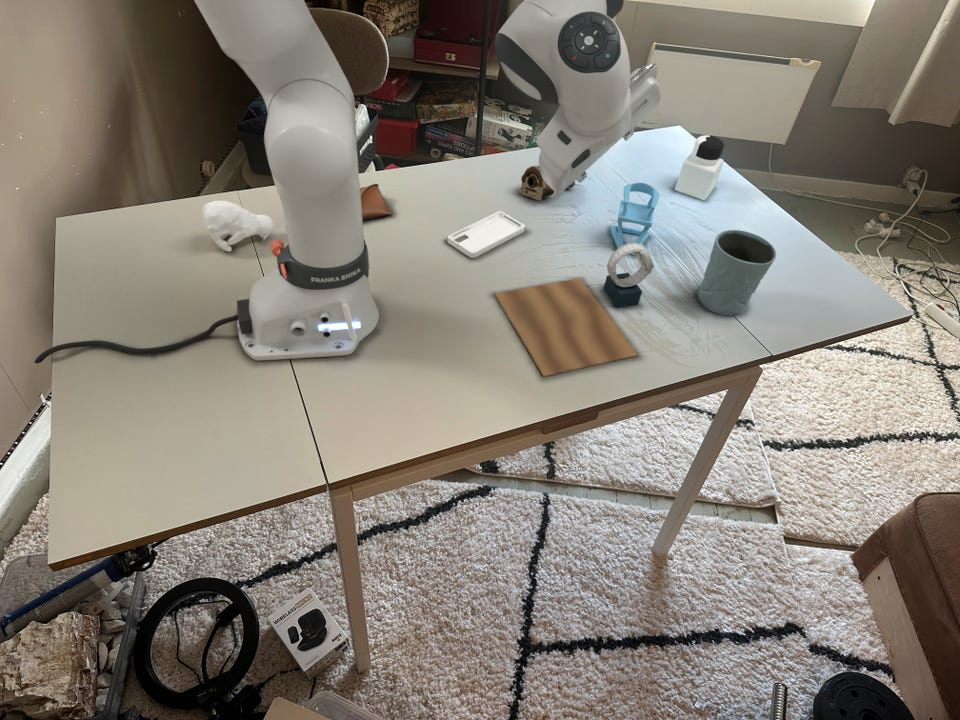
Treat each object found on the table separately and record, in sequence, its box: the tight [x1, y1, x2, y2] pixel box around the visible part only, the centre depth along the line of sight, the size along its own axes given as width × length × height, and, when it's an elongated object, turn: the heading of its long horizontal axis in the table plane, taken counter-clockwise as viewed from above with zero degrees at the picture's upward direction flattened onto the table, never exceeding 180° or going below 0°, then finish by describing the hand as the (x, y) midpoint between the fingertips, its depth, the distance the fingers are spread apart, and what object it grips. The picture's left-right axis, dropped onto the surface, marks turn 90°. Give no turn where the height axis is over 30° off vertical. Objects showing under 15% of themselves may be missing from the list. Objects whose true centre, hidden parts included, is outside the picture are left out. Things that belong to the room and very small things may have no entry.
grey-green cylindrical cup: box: [697, 229, 777, 316], centre depth 113 cm, size 10×10×12 cm
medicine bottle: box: [674, 134, 725, 201], centre depth 141 cm, size 7×7×12 cm
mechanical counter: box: [520, 165, 576, 201], centre depth 137 cm, size 7×13×10 cm
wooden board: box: [494, 277, 638, 378], centre depth 109 cm, size 17×21×1 cm
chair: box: [610, 182, 661, 256], centre depth 124 cm, size 8×8×12 cm
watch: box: [602, 241, 655, 309], centre depth 112 cm, size 6×8×11 cm
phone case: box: [447, 210, 526, 259], centre depth 126 cm, size 7×1×15 cm
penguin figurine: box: [202, 200, 275, 253], centre depth 117 cm, size 6×8×12 cm
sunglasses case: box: [360, 183, 393, 223], centre depth 127 cm, size 18×7×7 cm, turn 121°
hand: (603, 156), depth 100 cm, fingers open, 8 cm apart
